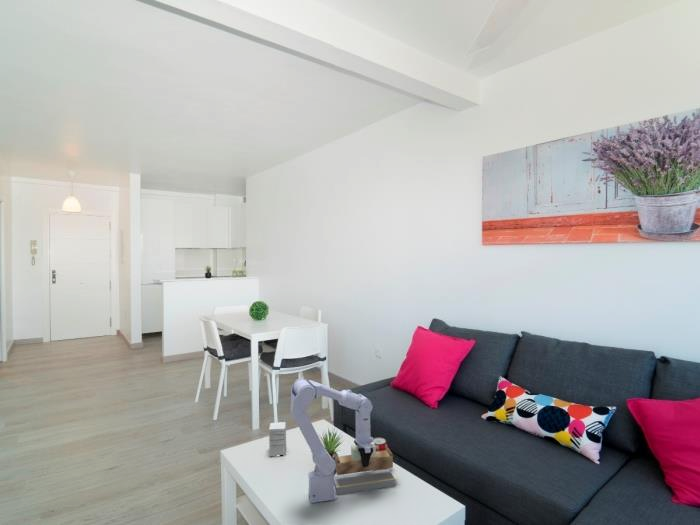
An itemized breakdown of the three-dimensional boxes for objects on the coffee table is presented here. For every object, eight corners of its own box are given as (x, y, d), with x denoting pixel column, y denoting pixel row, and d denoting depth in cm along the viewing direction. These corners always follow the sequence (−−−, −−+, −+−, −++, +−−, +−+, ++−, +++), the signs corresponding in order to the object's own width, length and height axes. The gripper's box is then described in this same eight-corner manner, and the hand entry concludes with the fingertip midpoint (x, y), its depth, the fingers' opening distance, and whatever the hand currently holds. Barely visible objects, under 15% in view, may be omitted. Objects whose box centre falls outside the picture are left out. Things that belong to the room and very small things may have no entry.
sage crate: (353, 460, 145) (353, 450, 145) (351, 455, 149) (351, 445, 149) (363, 459, 146) (363, 449, 146) (361, 454, 150) (360, 444, 150)
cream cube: (365, 458, 147) (365, 447, 147) (363, 453, 151) (363, 443, 151) (375, 457, 147) (375, 446, 147) (373, 452, 151) (373, 442, 151)
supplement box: (270, 449, 178) (270, 422, 178) (286, 448, 179) (286, 421, 179) (269, 457, 170) (268, 429, 170) (285, 456, 171) (285, 428, 171)
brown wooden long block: (337, 475, 143) (337, 461, 143) (335, 468, 148) (334, 454, 148) (392, 467, 148) (392, 453, 148) (388, 461, 153) (388, 447, 153)
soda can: (387, 474, 155) (386, 445, 155) (369, 473, 156) (369, 443, 156) (388, 465, 162) (388, 437, 162) (372, 464, 163) (371, 436, 163)
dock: (336, 494, 142) (336, 487, 142) (333, 482, 150) (333, 476, 150) (395, 486, 147) (395, 479, 147) (388, 474, 154) (388, 468, 154)
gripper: (378, 434, 142) (378, 471, 142) (368, 419, 156) (368, 452, 156) (359, 436, 140) (360, 473, 140) (351, 421, 155) (351, 454, 155)
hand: (363, 462), depth 148 cm, fingers closed on brown wooden long block, 5 cm apart
